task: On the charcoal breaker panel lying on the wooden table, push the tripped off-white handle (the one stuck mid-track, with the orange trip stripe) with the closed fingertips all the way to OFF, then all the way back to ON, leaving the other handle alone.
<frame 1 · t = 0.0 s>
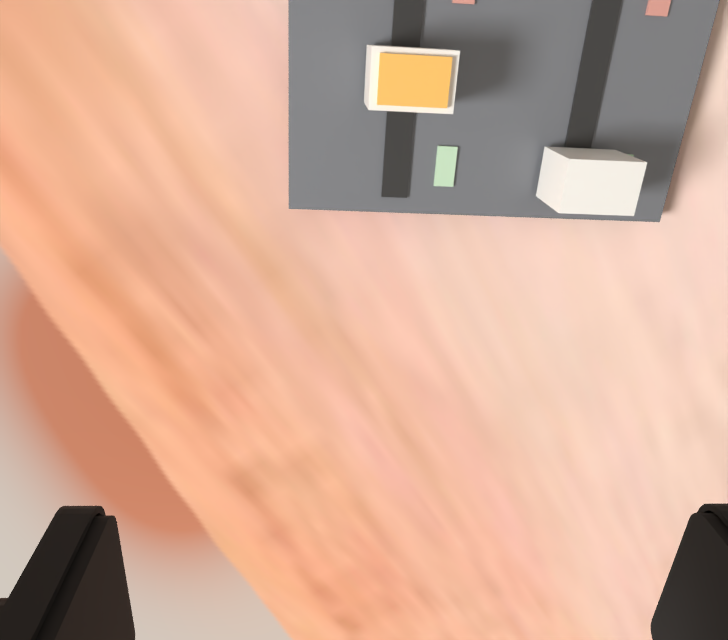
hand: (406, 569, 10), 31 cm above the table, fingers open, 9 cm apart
breaker panel: (490, 78, 36), on the table
breaker tripped: (408, 78, 32), point 4 cm above the table, slide at 5.0 cm
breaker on: (587, 180, 35), point 4 cm above the table, slide at 10.0 cm
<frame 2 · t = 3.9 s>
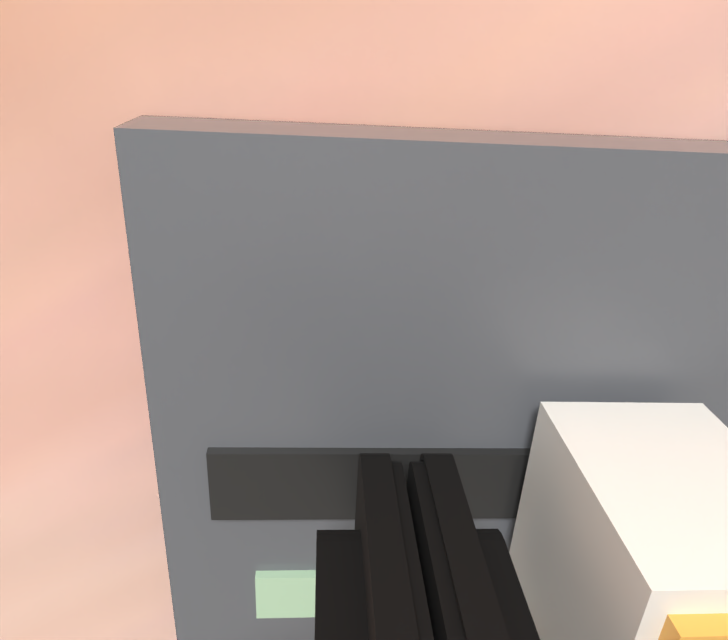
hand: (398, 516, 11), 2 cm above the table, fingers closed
breaker panel: (503, 607, 16), on the table
breaker tripped: (650, 590, 10), point 4 cm above the table, slide at 4.5 cm, touching gripper
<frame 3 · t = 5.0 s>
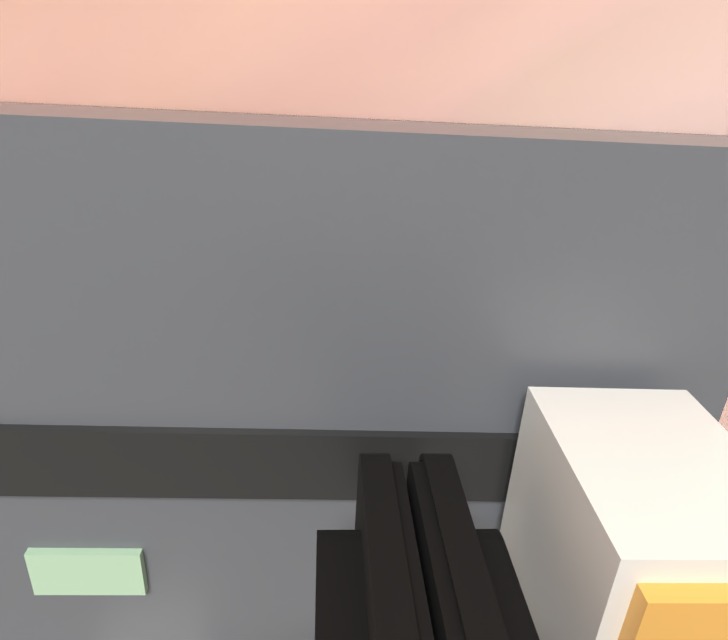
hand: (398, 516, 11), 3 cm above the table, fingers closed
breaker panel: (318, 591, 16), on the table
breaker tripped: (630, 568, 10), point 4 cm above the table, slide at -0.3 cm, touching gripper
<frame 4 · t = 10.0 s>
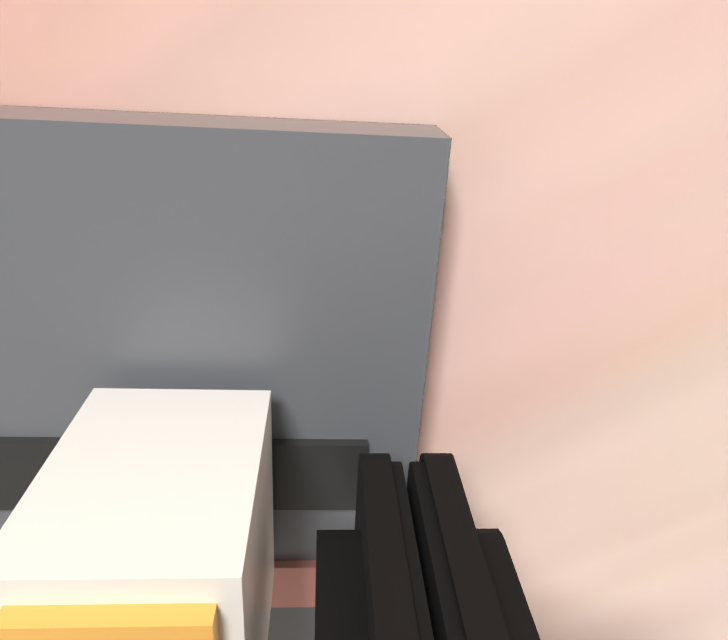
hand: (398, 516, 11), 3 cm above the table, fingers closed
breaker panel: (74, 604, 15), on the table
breaker tripped: (164, 583, 9), point 4 cm above the table, slide at 1.3 cm, touching gripper
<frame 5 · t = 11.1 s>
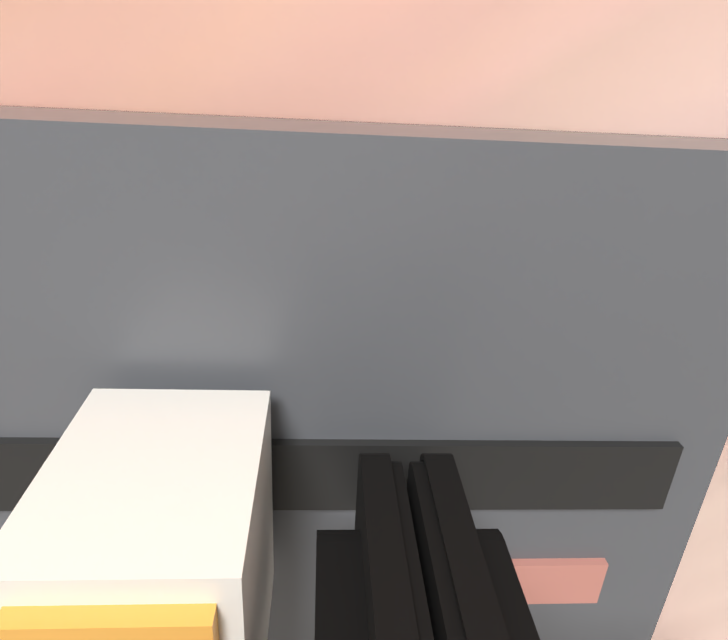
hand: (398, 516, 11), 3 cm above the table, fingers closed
breaker panel: (324, 601, 16), on the table
breaker tripped: (164, 583, 9), point 4 cm above the table, slide at 7.6 cm, touching gripper
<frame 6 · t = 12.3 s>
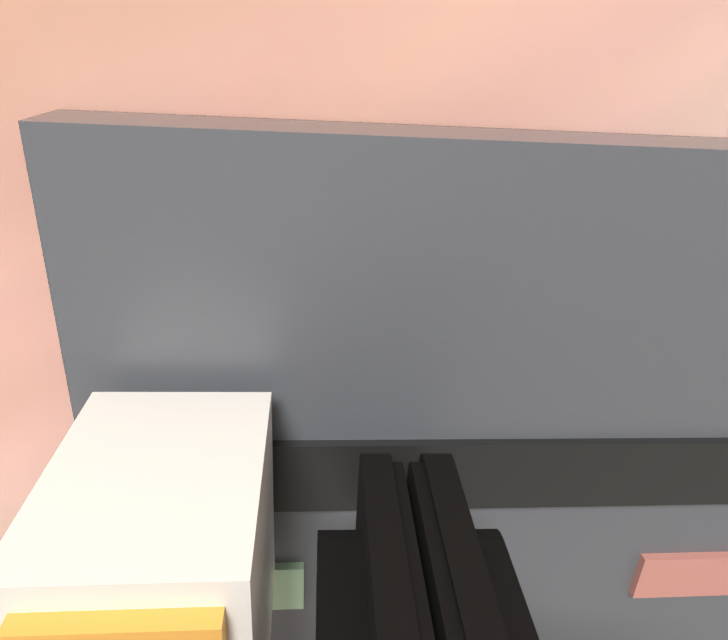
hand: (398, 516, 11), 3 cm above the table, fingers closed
breaker panel: (447, 599, 16), on the table
breaker tripped: (167, 587, 9), point 4 cm above the table, slide at 10.9 cm, touching gripper
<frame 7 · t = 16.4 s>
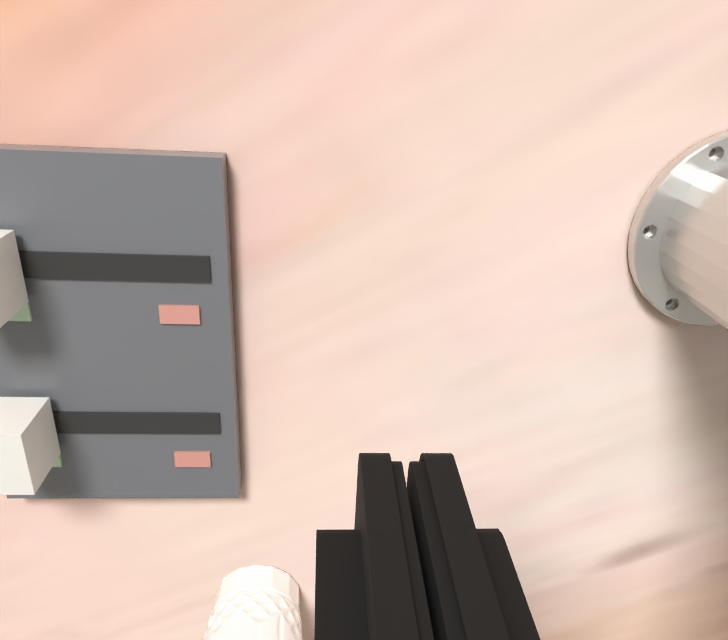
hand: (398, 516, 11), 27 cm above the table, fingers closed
breaker panel: (109, 337, 39), on the table
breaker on: (17, 444, 37), point 4 cm above the table, slide at 10.0 cm
white cup: (259, 590, 50), on the table
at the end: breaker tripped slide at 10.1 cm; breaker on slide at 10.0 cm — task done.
